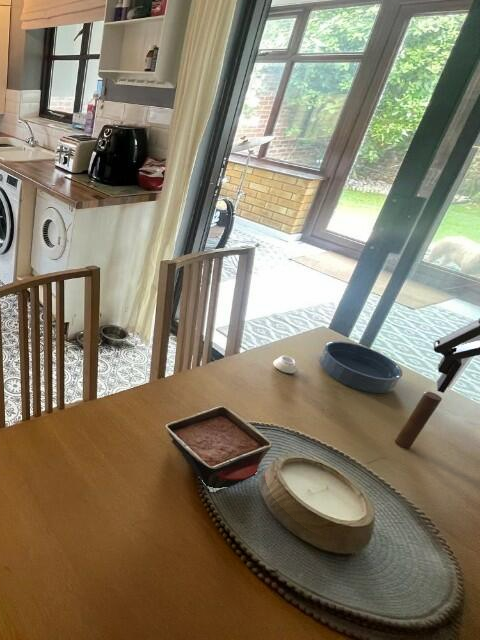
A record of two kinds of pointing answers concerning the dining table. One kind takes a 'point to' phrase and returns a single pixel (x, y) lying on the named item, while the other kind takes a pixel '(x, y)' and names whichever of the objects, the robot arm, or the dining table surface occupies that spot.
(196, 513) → the dining table surface
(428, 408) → the stirring stick
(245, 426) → the baking dish
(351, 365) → the bowl
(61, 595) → the dining table surface
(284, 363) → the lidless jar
